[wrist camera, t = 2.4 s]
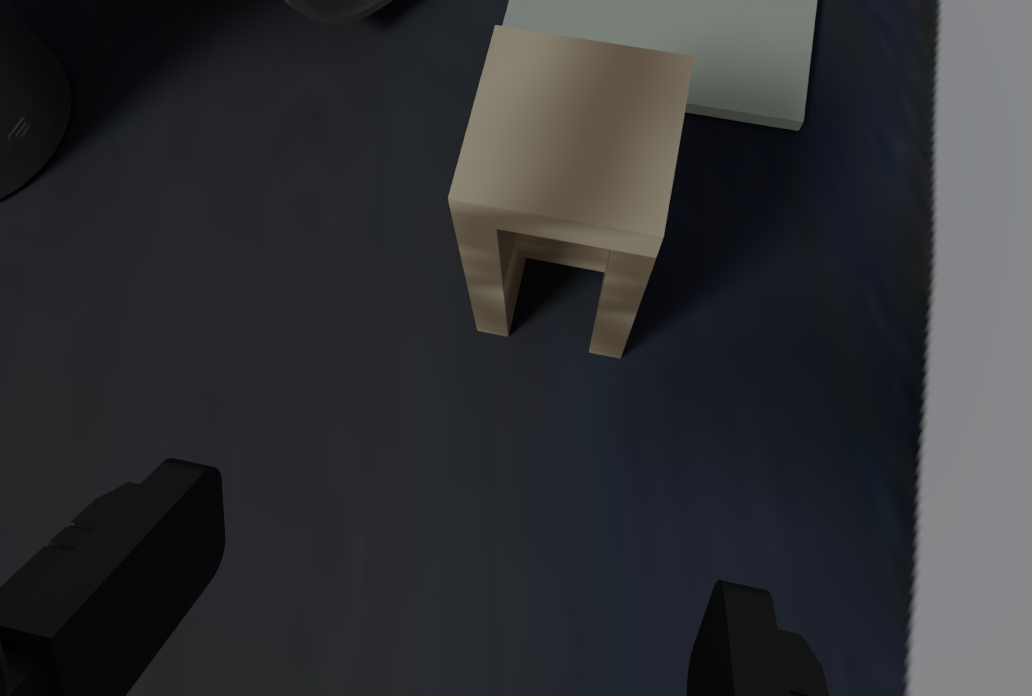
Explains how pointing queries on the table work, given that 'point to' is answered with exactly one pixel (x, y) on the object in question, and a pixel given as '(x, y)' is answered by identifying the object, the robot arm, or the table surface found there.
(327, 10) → the bluetooth speaker
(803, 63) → the sage mat
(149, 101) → the table surface
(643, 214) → the birch stool
